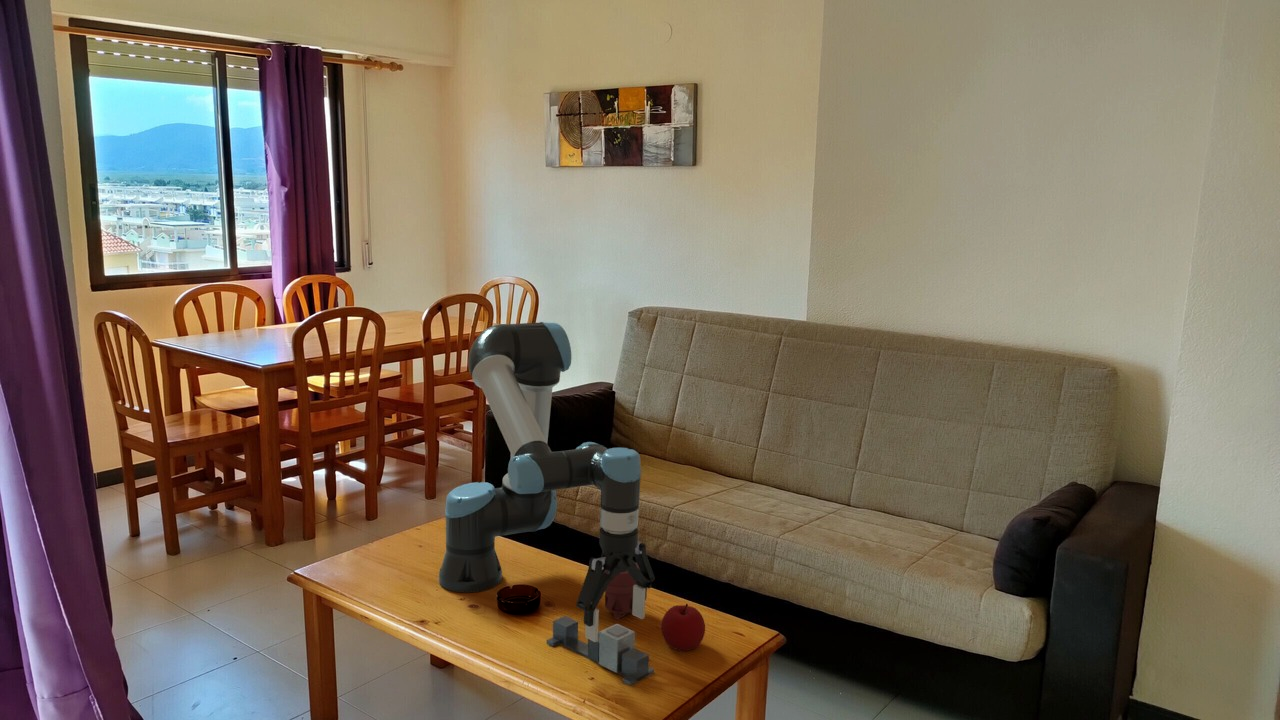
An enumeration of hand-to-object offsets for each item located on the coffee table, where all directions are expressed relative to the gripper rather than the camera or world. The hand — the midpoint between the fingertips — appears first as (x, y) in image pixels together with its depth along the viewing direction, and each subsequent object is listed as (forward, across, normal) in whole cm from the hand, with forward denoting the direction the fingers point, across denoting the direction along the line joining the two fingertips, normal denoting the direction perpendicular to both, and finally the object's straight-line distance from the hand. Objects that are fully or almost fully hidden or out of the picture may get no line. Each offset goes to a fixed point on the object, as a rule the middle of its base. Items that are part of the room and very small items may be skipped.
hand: (615, 627), depth 181 cm
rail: (+8, 0, +4) cm, 9 cm away
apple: (+8, +16, -5) cm, 19 cm away
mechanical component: (+9, +18, +15) cm, 25 cm away
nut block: (+8, 0, -1) cm, 8 cm away
